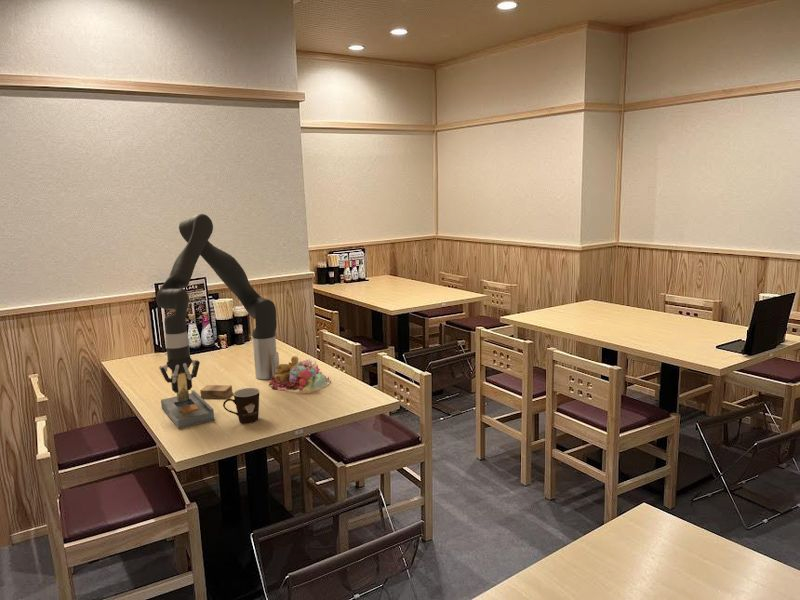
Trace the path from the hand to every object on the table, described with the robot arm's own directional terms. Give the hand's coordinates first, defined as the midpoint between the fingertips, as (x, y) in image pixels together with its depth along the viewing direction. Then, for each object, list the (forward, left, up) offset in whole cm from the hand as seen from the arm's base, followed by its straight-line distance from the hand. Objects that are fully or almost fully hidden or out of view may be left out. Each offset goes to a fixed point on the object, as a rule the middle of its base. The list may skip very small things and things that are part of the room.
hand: (182, 390), depth 215 cm
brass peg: (0, 0, -3) cm, 3 cm away
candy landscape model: (-34, -32, -8) cm, 47 cm away
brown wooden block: (-5, -16, -8) cm, 18 cm away
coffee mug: (-25, +7, -8) cm, 27 cm away
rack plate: (-2, +2, -8) cm, 8 cm away
